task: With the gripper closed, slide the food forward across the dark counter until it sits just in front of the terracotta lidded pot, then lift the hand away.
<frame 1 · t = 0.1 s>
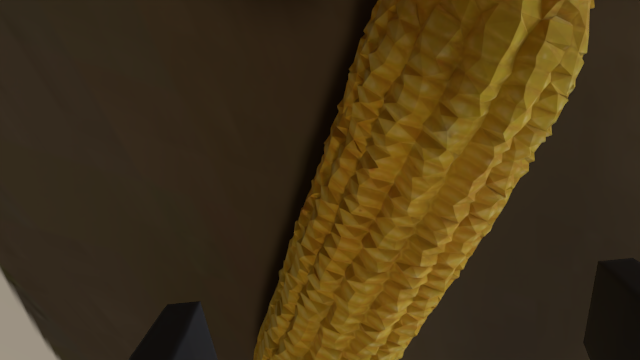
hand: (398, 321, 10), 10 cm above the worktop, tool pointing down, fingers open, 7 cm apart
food: (365, 205, 21), on the worktop
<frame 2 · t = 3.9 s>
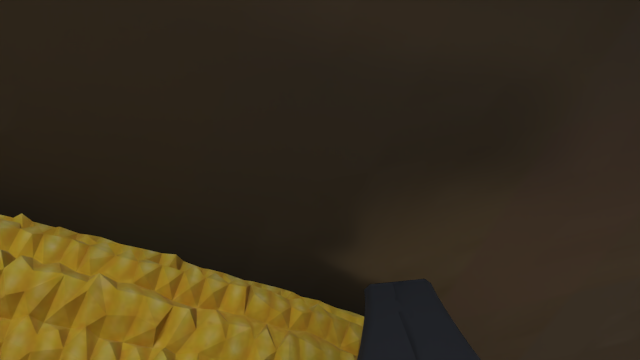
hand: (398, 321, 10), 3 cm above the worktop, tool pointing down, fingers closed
food: (82, 265, 14), on the worktop, touching gripper
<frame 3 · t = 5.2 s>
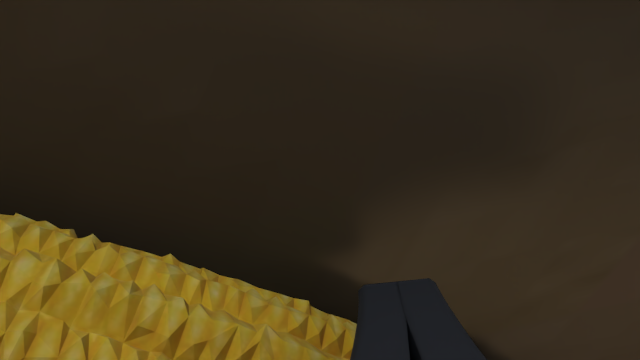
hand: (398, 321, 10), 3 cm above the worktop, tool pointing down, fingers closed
food: (199, 299, 14), on the worktop, touching gripper
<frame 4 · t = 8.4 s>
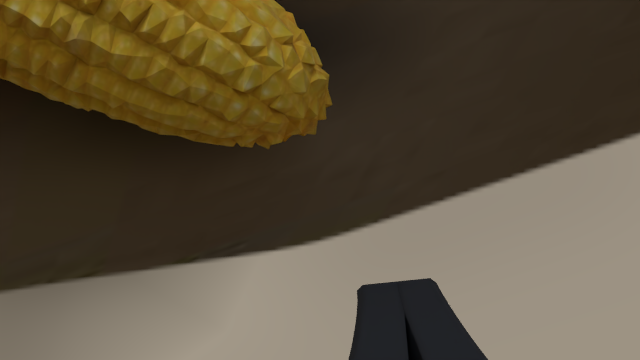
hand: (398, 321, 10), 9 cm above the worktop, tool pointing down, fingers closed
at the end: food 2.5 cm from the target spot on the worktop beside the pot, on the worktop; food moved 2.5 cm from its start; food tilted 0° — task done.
